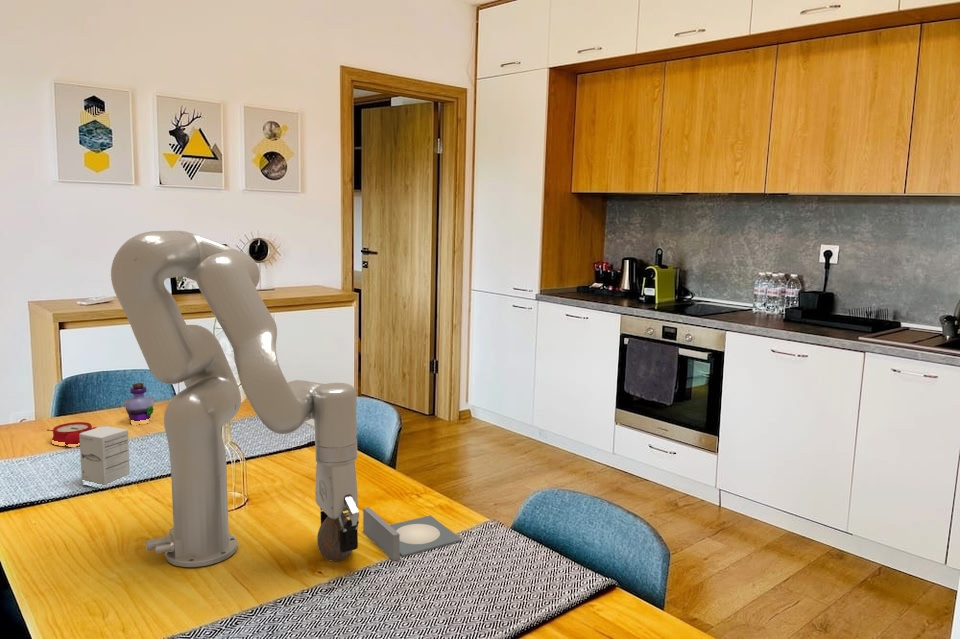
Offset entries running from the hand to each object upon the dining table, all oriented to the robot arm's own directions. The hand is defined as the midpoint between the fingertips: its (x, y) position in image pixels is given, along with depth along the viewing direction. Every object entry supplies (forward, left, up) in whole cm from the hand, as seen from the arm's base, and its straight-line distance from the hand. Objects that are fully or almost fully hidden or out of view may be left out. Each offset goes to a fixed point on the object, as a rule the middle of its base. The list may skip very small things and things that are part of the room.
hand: (339, 539), depth 131 cm
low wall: (+9, 0, -3) cm, 9 cm away
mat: (+17, 0, -3) cm, 17 cm away
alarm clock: (-38, +97, -4) cm, 104 cm away
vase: (0, 0, -4) cm, 4 cm away
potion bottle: (-20, +108, -4) cm, 110 cm away
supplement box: (-33, +60, -4) cm, 69 cm away
